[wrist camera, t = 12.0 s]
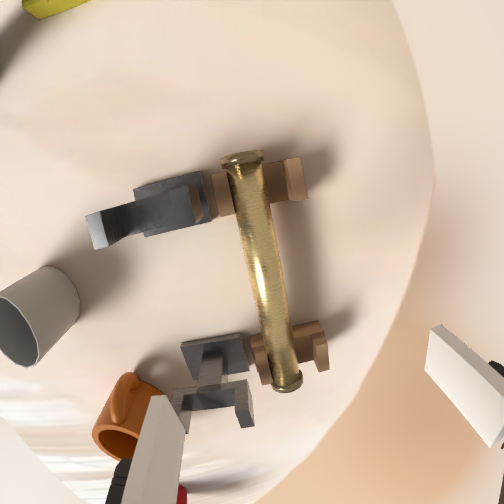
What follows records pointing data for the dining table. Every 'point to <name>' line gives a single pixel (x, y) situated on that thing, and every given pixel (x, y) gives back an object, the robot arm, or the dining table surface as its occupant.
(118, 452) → the mug
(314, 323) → the rest
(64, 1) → the ashtray
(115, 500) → the robot arm
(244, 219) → the rail
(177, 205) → the post
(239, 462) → the dining table surface
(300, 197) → the rest
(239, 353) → the post
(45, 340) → the cup
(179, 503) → the paper cup
